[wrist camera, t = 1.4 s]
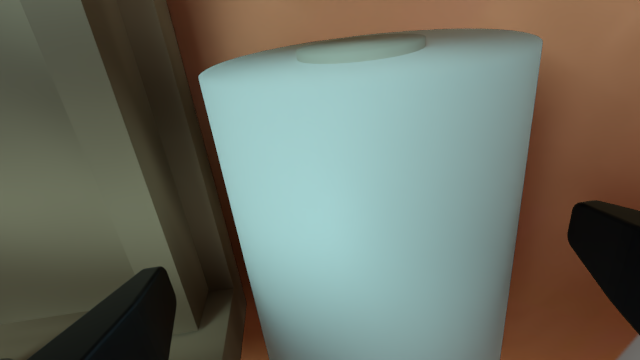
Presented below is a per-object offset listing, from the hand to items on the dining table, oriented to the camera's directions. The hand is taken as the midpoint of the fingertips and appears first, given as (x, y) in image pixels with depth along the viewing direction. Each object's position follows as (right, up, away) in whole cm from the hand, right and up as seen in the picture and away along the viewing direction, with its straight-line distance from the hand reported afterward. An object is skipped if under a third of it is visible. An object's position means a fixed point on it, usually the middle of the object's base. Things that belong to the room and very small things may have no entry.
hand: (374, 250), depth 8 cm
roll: (0, +2, +3) cm, 4 cm away
